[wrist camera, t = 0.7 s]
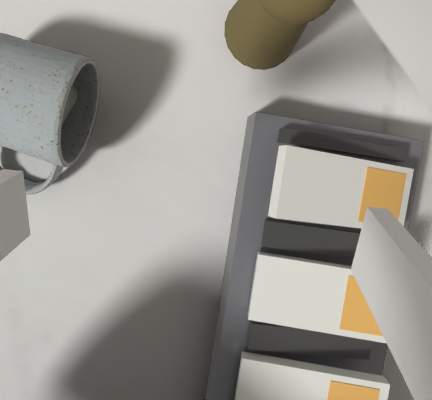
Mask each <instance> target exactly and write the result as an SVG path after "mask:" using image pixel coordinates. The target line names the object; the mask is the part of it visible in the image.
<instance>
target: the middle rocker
mask: <svg viewBox="0 0 432 400" xmlns="http://www.w3.org/2000/svg"><path fill="white" fill-rule="evenodd" d="M351 267H352V266H347V265H341V264H334V263H328V262H322V261H315V260H309V259H303V258H297V257H290V256H284V255H278V254H272V253H265V252H259V251H258V252H257V259H256V265H255V271H254V278H253V284H252V290H251V297H250V303H249V310H248V320H252V321H258V322H264V323H270V324H276V325H282V326H287V327H293V328H299V329H305V330H311V331H317V332H323V333H328V334H334V335H340V336H346V337H352V338H358V339H364V340H370V341H375V342H381V343H386V341H385V339H384V337H383V335H382V333H381V331H380V329H379V327H378V325H377V322H376V320H375V318H374V316H373V314H372V312H371V310H370V308H369V306H368V304H367V302H366V300H365V298H364V296H363V294H362V292H361V290H360V288H359V286H358V283H357V281H356V279H355V277H354V275H353V273H352V271H351Z"/></svg>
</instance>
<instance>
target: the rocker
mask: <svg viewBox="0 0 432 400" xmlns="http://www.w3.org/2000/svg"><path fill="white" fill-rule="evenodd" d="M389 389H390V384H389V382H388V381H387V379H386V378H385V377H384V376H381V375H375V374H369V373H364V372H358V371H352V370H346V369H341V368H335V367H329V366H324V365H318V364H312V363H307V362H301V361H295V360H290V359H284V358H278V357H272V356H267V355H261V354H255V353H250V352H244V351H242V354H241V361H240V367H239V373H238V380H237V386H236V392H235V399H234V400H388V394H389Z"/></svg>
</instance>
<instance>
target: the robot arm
mask: <svg viewBox="0 0 432 400" xmlns="http://www.w3.org/2000/svg"><path fill="white" fill-rule="evenodd" d="M29 235H30V228H29V220H28V211H27V202H26V193H25V184H24V175H23V171H18V170H9V169H2V170H0V261H1V260H2V259H3V258H4V257H5V256H7V255H8V254H9V253H10V252H11V251H12V250H13V249H15V248H16V247H17V246H18V245H19V244H20V243H21V242H23V241H24V240H25V239H26V238H27V237H28V236H29ZM351 271H352V273H353V275H354V277H355V279H356V281H357V283H358V286H359V288H360V290H361V292H362V294H363V296H364V298H365V300H366V302H367V304H368V306H369V308H370V310H371V312H372V314H373V316H374V318H375V320H376V322H377V325H378V327H379V329H380V331H381V333H382V335H383V337H384V339H385V341H386V343H387V345H388V347H389V349H390V351H391V353H392V355H393V357H394V359H395V362H396V364H397V366H398V368H399V370H400V372H401V374H402V376H403V378H404V380H405V382H406V384H407V386H408V388H409V390H410V392H411V394H412V396H413V398H414V400H432V258H431V257H430V255H429V254H428V253H427V252H426V251H425V250H424V249H423V248H422V247H421V245H420V244H419V243H418V242H417V241H416V240H415V239H414V238H413V237H412V235H411V234H410V233H409V232H408V231H407V230H406V229H405V228H404V227H403V225H402V224H401V223H400V222H399V221H398V220H397V219H396V218H395V217H394V215H393V214H392V213H391V212H390V211H389V210H388V209H383V208H373V207H367V209H366V213H365V217H364V221H363V225H362V229H361V232H360V236H359V240H358V244H357V248H356V252H355V256H354V259H353V263H352V267H351Z"/></svg>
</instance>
